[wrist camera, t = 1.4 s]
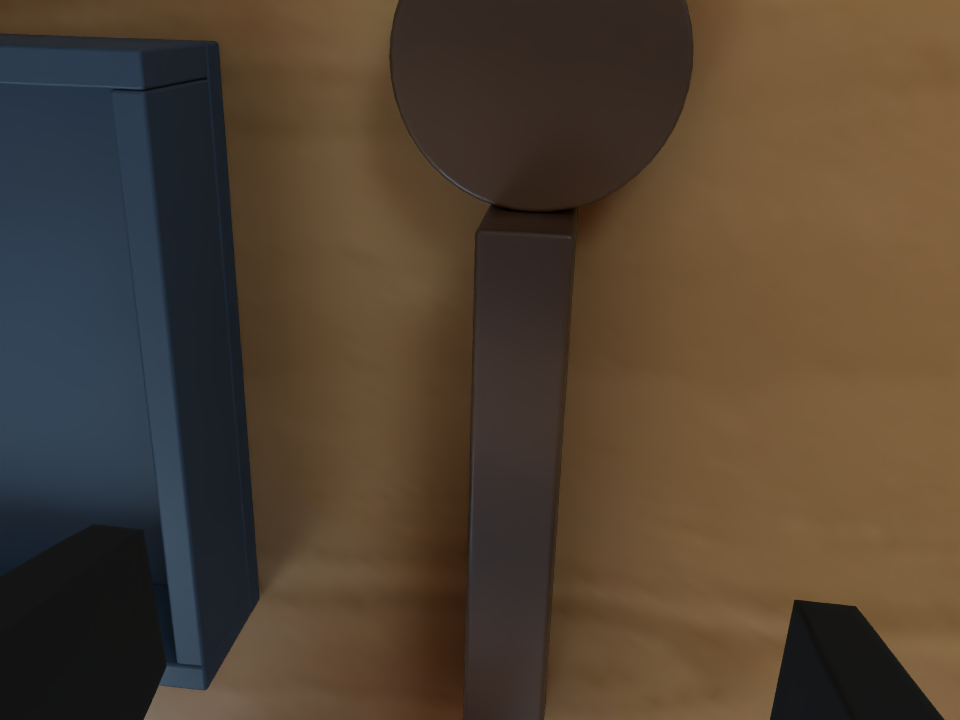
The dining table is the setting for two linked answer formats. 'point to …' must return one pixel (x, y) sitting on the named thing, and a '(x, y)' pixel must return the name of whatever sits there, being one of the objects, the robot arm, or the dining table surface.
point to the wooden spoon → (529, 261)
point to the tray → (125, 325)
